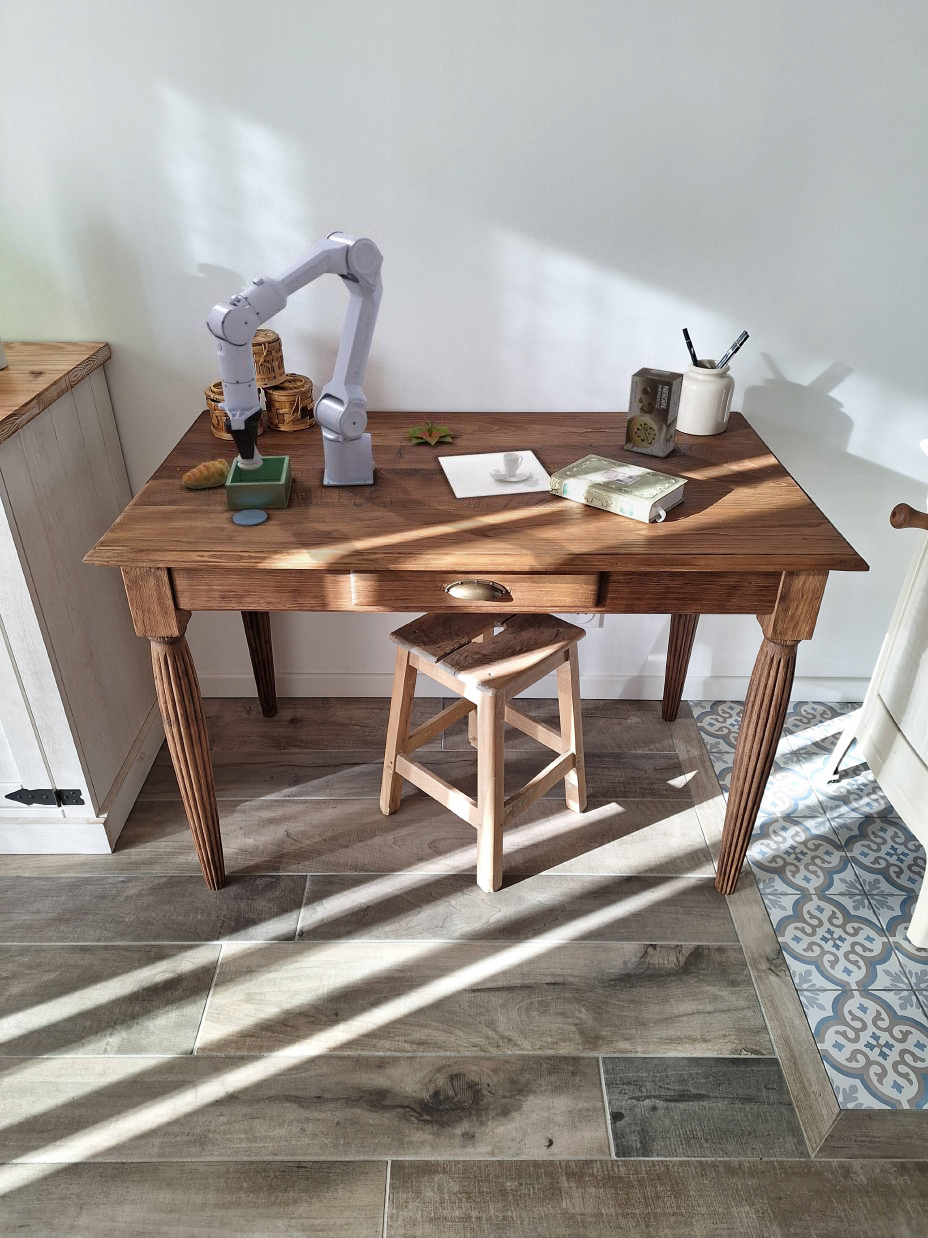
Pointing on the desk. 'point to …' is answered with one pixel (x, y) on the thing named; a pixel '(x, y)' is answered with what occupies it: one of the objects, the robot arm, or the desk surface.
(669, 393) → the coffee box
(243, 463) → the rook chess piece
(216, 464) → the pastry
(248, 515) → the tile coaster
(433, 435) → the lily flower
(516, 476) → the teacup and saucer
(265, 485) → the open box
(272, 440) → the desk surface
